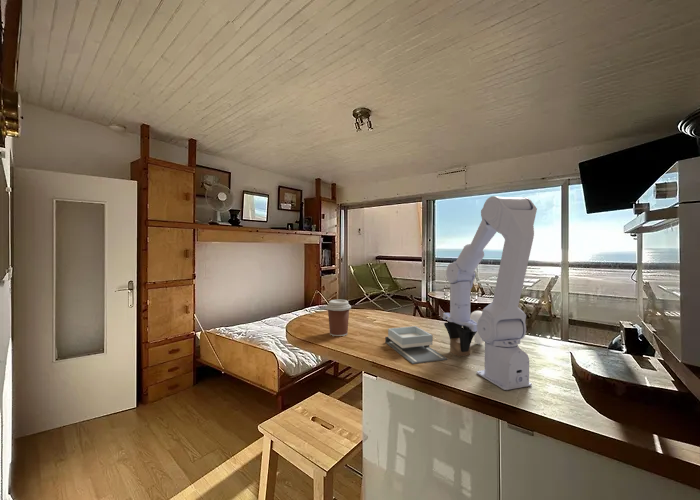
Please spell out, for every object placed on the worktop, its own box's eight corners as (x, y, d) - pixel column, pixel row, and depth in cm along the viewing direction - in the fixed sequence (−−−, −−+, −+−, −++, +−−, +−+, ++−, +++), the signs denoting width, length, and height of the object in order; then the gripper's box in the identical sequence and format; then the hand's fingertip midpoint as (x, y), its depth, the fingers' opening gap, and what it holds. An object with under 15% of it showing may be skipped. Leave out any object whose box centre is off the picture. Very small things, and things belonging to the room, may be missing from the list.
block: (469, 355, 89) (469, 341, 89) (458, 356, 88) (458, 343, 88) (461, 350, 93) (461, 337, 93) (450, 351, 92) (450, 338, 92)
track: (447, 359, 86) (447, 352, 86) (412, 364, 82) (412, 357, 82) (414, 339, 103) (414, 333, 103) (385, 342, 100) (385, 336, 100)
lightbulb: (491, 348, 95) (491, 313, 94) (470, 346, 96) (470, 312, 96) (486, 341, 101) (486, 309, 100) (467, 340, 102) (467, 308, 102)
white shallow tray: (432, 348, 92) (432, 335, 92) (402, 352, 89) (402, 338, 89) (415, 338, 102) (415, 326, 102) (388, 341, 99) (388, 328, 99)
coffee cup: (322, 336, 106) (322, 302, 106) (331, 329, 115) (331, 298, 115) (346, 339, 104) (346, 304, 103) (354, 331, 113) (354, 299, 112)
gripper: (434, 299, 96) (434, 342, 96) (464, 309, 82) (464, 359, 82) (453, 298, 98) (453, 340, 98) (486, 308, 84) (485, 356, 84)
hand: (459, 348), depth 90 cm, fingers closed on block, 4 cm apart
